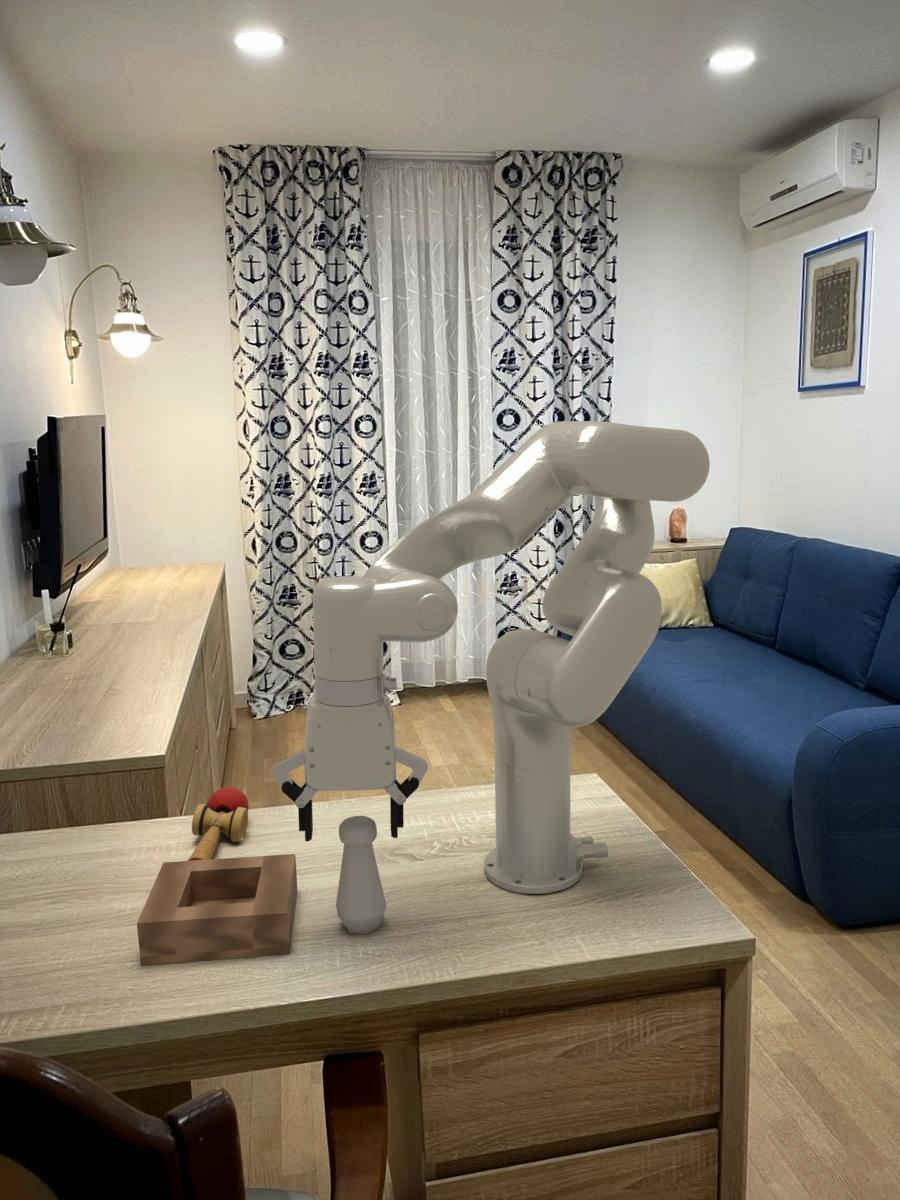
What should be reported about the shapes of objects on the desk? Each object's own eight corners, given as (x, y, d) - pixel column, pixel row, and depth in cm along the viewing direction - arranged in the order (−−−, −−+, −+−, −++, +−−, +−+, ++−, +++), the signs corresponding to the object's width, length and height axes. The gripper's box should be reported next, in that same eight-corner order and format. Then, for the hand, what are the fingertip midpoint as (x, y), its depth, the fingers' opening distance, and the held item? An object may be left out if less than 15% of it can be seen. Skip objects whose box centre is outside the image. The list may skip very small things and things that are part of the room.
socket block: (297, 890, 117) (295, 853, 116) (289, 954, 103) (286, 912, 102) (166, 899, 115) (163, 862, 114) (140, 965, 102) (136, 923, 101)
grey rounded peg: (378, 940, 105) (374, 833, 103) (330, 936, 106) (324, 830, 104) (392, 913, 111) (388, 811, 108) (346, 909, 112) (341, 808, 109)
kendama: (234, 885, 122) (264, 809, 139) (220, 844, 120) (252, 772, 137) (178, 894, 122) (214, 818, 139) (163, 854, 120) (201, 781, 137)
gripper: (425, 678, 107) (425, 818, 111) (272, 681, 106) (277, 823, 109) (430, 696, 100) (430, 846, 103) (266, 700, 98) (271, 852, 102)
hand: (351, 834), depth 106 cm, fingers open, 9 cm apart
